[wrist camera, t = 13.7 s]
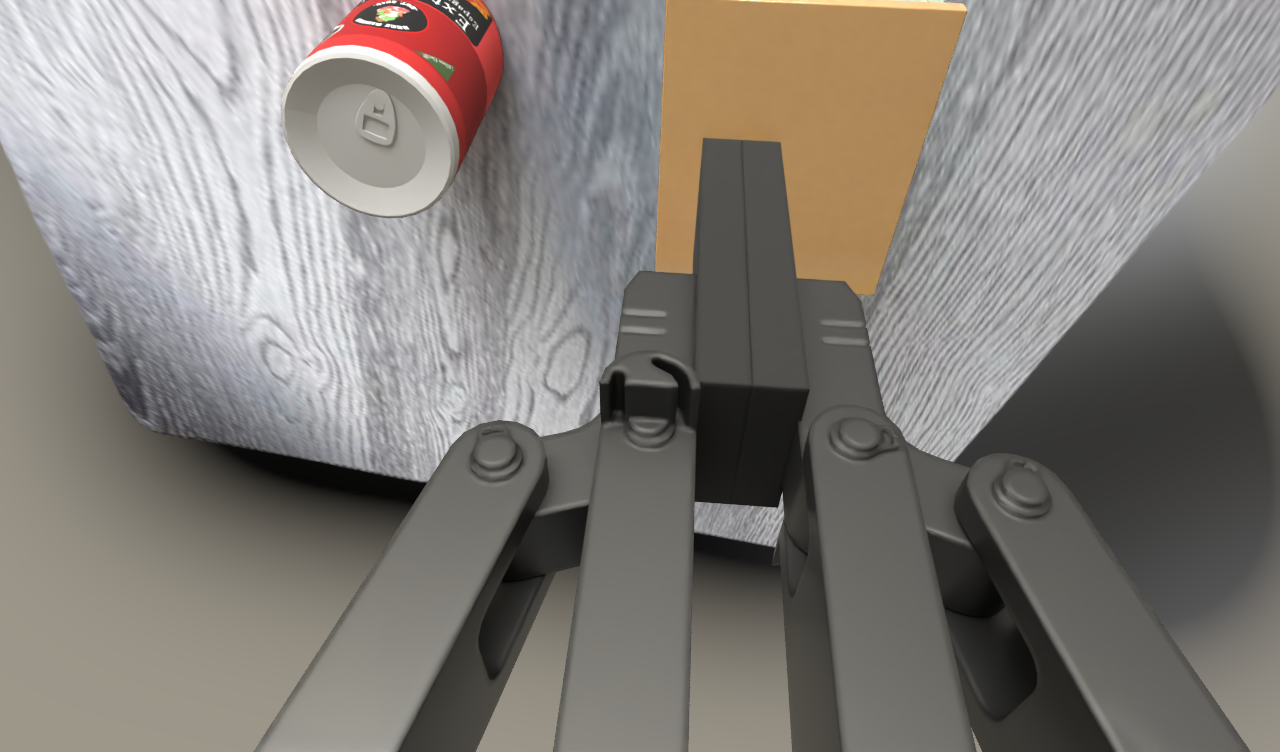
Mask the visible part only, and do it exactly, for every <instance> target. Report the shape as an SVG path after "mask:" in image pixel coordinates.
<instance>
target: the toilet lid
mask: <svg viewBox="0 0 1280 752" xmlns="http://www.w3.org/2000/svg"><path fill="white" fill-rule="evenodd" d="M966 14H967V8H966V7H965V5H964V4H962V3H940V2H917V1H895V0H666V7H665V32H664V58H663V83H662V109H661V134H660V160H659V185H658V211H657V236H656V262H655V272H669V273H685V274H692V273H693V251H694V239H695V227H696V215H697V203H698V192H699V180H700V168H701V156H702V144H703V138H715V139H734V140H753V141H772V142H781V150H782V158H783V167H784V175H785V183H786V192H787V200H788V209H789V217H790V226H791V234H792V242H793V251H794V259H795V268H796V276H797V278H801V279H817V280H834V281H845V282H846V283H847V284H848V286H849V287H850V288H851V289H852V291H853V292H854V293H855V294H857V295H874V294H875V291H876V288H877V285H878V281H879V278H880V275H881V272H882V269H883V266H884V263H885V260H886V257H887V254H888V251H889V248H890V245H891V242H892V239H893V236H894V233H895V230H896V227H897V224H898V221H899V218H900V215H901V212H902V209H903V206H904V202H905V199H906V196H907V193H908V190H909V187H910V184H911V181H912V178H913V175H914V172H915V169H916V166H917V163H918V160H919V157H920V154H921V151H922V148H923V145H924V142H925V139H926V136H927V133H928V130H929V127H930V124H931V120H932V117H933V114H934V111H935V108H936V105H937V102H938V99H939V96H940V93H941V90H942V87H943V84H944V81H945V78H946V75H947V72H948V69H949V66H950V63H951V60H952V57H953V54H954V51H955V48H956V45H957V41H958V38H959V35H960V32H961V29H962V26H963V23H964V20H965V17H966Z"/></svg>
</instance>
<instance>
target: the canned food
mask: <svg viewBox="0 0 1280 752" xmlns="http://www.w3.org/2000/svg"><path fill="white" fill-rule="evenodd" d="M502 70H503V51H502V45H501V40H500V34H499V31H498V28H497V26H496V23H495V20H494V18H493V17H492V15H491V13H490V11H489V10H488V8H487V6H486V5H485V4H484V2H483V1H482V0H362V1H361V2H360V3H359V4H358V5H357V6H356V7H355V8H354V9H353V10H352V11H351V12H350V13H349V14H348V15H347V16H346V17H345V18H344V19H343V20H342V22H341V23H340V24H339V25H338V26H337V27H336V28H335V29H334V30H333V31H332V32H331V33H330V34H329V35H328V36H327V37H326V38H325V39H324V40H323V41H322V42H321V43H320V44H319V45H318V46H317V47H316V48H315V49H314V50H313V51H312V52H311V53H310V54H309V56H308V57H307V58H306V59H305V60H304V61H303V62H302V64H301V65H300V66H299V67H298V68H297V69H296V70H295V72H294V74H293V76H292V77H291V78H290V80H289V82H288V84H287V86H286V88H285V90H284V95H283V100H282V104H281V120H282V126H283V130H284V135H285V139H286V141H287V143H288V146H289V148H290V150H291V153H292V155H293V156H294V158H295V160H296V161H297V163H298V164H299V166H300V167H301V169H302V170H303V171H304V173H305V174H306V175H307V176H308V177H309V178H310V180H311V181H312V182H313V183H314V184H315V185H316V186H318V187H319V188H320V189H321V190H322V191H323V192H324V193H326V194H327V195H328V196H330V197H331V198H333V199H334V200H336V201H337V202H339V203H340V204H342V205H344V206H346V207H349V208H351V209H353V210H355V211H357V212H360V213H364V214H367V215H370V216H375V217H382V218H403V217H408V216H412V215H416V214H418V213H421V212H423V211H425V210H427V209H429V208H430V207H431V206H433V205H434V204H435V203H436V202H438V201H439V200H440V198H441V197H442V196H443V194H444V193H445V192H446V191H447V189H448V188H449V187H450V185H451V184H452V182H453V180H454V178H455V176H456V174H457V173H458V171H459V168H460V166H461V164H462V162H463V160H464V158H465V156H466V154H467V152H468V149H469V147H470V145H471V143H472V141H473V139H474V137H475V135H476V133H477V130H478V128H479V126H480V124H481V122H482V120H483V118H484V116H485V114H486V111H487V109H488V107H489V105H490V103H491V101H492V99H493V97H494V95H495V92H496V90H497V88H498V85H499V83H500V80H501V75H502Z"/></svg>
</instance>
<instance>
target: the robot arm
mask: <svg viewBox="0 0 1280 752" xmlns="http://www.w3.org/2000/svg"><path fill="white" fill-rule="evenodd" d="M869 343H870V340H869V336H868V331H867V328H866V321H865V317H864V312H863V307H862V302H861V300H860V299H859V298H858V297H857V296H856V294H855V293H854V292H853V291H852V289H851V288H850V287H849V286H848V284H847V283H846V282H845V281H834V280H817V279H801V278H797V276H796V268H795V259H794V251H793V242H792V234H791V226H790V217H789V209H788V200H787V192H786V183H785V175H784V167H783V158H782V150H781V142H772V141H753V140H734V139H715V138H703V144H702V156H701V168H700V180H699V192H698V203H697V215H696V227H695V239H694V251H693V273H692V274H685V273H669V272H652V271H639V272H638V273H637V274H636V276H635V277H634V278H633V279H632V280H631V282H630V283H629V284H628V285H627V287H626V288H625V290H624V297H623V304H622V313H621V318H620V325H619V332H618V339H617V346H616V353H615V360H614V361H613V362H612V363H611V364H610V365H609V366H608V367H606V368H605V370H604V373H603V375H602V377H601V380H600V382H599V384H600V414H599V415H597V416H596V417H595V418H594V419H593V420H592V421H590V422H589V423H587V424H585V425H583V426H581V427H579V428H577V429H574V430H570V431H567V432H563V433H558V434H553V435H548V436H543V437H539V436H538V435H537V434H536V433H535V431H534V430H533V429H531V428H529V427H527V426H525V425H522V424H520V423H518V422H511V421H501V420H498V421H493V422H488V423H483V424H479V425H477V426H476V427H474V428H472V429H470V430H468V431H466V432H464V433H463V434H462V435H461V436H460V437H459V438H458V439H457V440H456V441H455V442H454V444H453V445H452V446H451V447H450V449H449V450H448V452H447V453H446V455H445V456H444V458H443V460H442V461H441V463H440V464H439V466H438V467H437V469H436V470H435V472H434V473H433V475H432V477H431V478H430V480H429V481H428V483H427V484H426V486H425V487H424V489H423V490H422V492H421V494H420V495H419V497H418V498H417V500H416V501H415V503H414V504H413V506H412V508H411V509H410V511H409V512H408V514H407V515H406V517H405V518H404V520H403V521H402V523H401V525H400V526H399V528H398V529H397V531H396V532H395V534H394V535H393V537H392V538H391V540H390V541H389V543H388V545H387V546H386V548H385V549H384V551H383V552H382V554H381V556H380V557H379V559H378V560H377V562H376V563H375V565H374V567H373V568H372V569H371V571H370V572H369V574H368V576H367V577H366V579H365V580H364V582H363V583H362V585H361V586H360V588H359V589H358V591H357V592H356V594H355V596H354V597H353V599H352V600H351V602H350V603H349V605H348V606H347V608H346V610H345V611H344V613H343V614H342V616H341V617H340V619H339V620H338V622H337V623H336V625H335V627H334V628H333V630H332V631H331V633H330V634H329V636H328V637H327V639H326V640H325V642H324V644H323V645H322V647H321V648H320V650H319V651H318V653H317V654H316V656H315V658H314V659H313V661H312V662H311V664H310V665H309V667H308V668H307V670H306V671H305V673H304V675H303V676H302V678H301V679H300V681H299V682H298V684H297V685H296V687H295V688H294V690H293V691H292V693H291V695H290V696H289V698H288V699H287V701H286V703H285V704H284V705H283V707H282V708H281V710H280V712H279V713H278V715H277V716H276V718H275V720H274V721H273V722H272V724H271V725H270V727H269V729H268V730H267V732H266V733H265V735H264V737H263V738H262V739H261V741H260V743H259V744H258V746H257V747H256V749H255V750H254V752H476V750H477V747H478V745H479V743H480V741H481V739H482V736H483V734H484V732H485V730H486V727H487V725H488V723H489V721H490V718H491V716H492V714H493V712H494V710H495V707H496V705H497V703H498V701H499V698H500V696H501V694H502V692H503V690H504V687H505V685H506V683H507V680H508V678H509V676H510V674H511V672H512V669H513V667H514V665H515V663H516V661H517V658H518V656H519V654H520V652H521V649H522V647H523V645H524V642H525V640H526V638H527V635H528V634H529V631H530V629H531V627H532V625H533V623H534V620H535V618H536V616H537V614H538V611H539V609H540V607H541V604H542V602H543V600H544V598H545V596H546V594H547V591H548V589H549V587H550V584H551V582H552V580H553V578H554V576H555V573H556V571H560V570H565V569H569V568H573V567H577V566H580V570H579V577H578V583H577V590H576V598H575V604H574V612H573V618H572V625H571V632H570V638H569V646H568V652H567V659H566V666H565V673H564V679H563V687H562V693H561V700H560V707H559V714H558V721H557V727H556V734H555V741H554V748H553V752H688V740H689V701H690V661H691V660H690V659H691V622H692V583H693V581H692V579H693V541H694V504H695V502H708V503H722V504H735V505H749V506H763V507H776V508H778V506H779V502H780V498H781V494H782V491H783V504H784V519H783V523H782V526H781V530H780V533H779V537H778V540H777V544H776V547H775V551H774V555H773V561H772V565H773V566H779V564H780V562H781V578H782V594H783V610H784V626H785V642H786V658H787V674H788V690H789V707H790V723H791V738H792V752H976V748H975V743H974V738H973V734H972V730H973V732H974V734H975V736H976V739H977V741H978V743H979V745H980V747H981V750H982V752H1250V750H1249V749H1248V747H1247V746H1246V744H1245V743H1244V742H1243V740H1242V739H1241V737H1240V736H1239V734H1238V733H1237V731H1236V730H1235V729H1234V727H1233V725H1232V724H1231V723H1230V721H1229V720H1228V718H1227V717H1226V715H1225V714H1224V712H1223V711H1222V710H1221V708H1220V707H1219V705H1218V704H1217V702H1216V701H1215V700H1214V698H1213V697H1212V695H1211V694H1210V692H1209V691H1208V689H1207V688H1206V686H1205V685H1204V684H1203V682H1202V681H1201V679H1200V678H1199V676H1198V675H1197V674H1196V672H1195V671H1194V669H1193V668H1192V666H1191V665H1190V663H1189V662H1188V660H1187V659H1186V657H1185V656H1184V655H1183V653H1182V652H1181V650H1180V649H1179V647H1178V646H1177V645H1176V643H1175V642H1174V640H1173V639H1172V637H1171V636H1170V634H1169V633H1168V631H1167V630H1166V629H1165V627H1164V626H1163V624H1162V623H1161V621H1160V620H1159V618H1158V617H1157V616H1156V614H1155V613H1154V611H1153V610H1152V608H1151V607H1150V605H1149V604H1148V603H1147V601H1146V600H1145V598H1144V597H1143V595H1142V594H1141V592H1140V591H1139V589H1138V588H1137V587H1136V585H1135V584H1134V582H1133V581H1132V579H1131V578H1130V576H1129V575H1128V574H1127V572H1126V571H1125V569H1124V568H1123V566H1122V565H1121V564H1120V562H1119V560H1118V559H1117V558H1116V556H1115V555H1114V554H1113V552H1112V550H1111V549H1110V547H1109V546H1108V545H1107V543H1106V542H1105V540H1104V539H1103V538H1102V536H1101V535H1100V533H1099V532H1098V530H1097V529H1096V527H1095V526H1094V524H1093V523H1092V521H1091V520H1090V519H1089V517H1088V516H1087V514H1086V513H1085V512H1084V510H1083V508H1082V507H1081V505H1080V504H1079V503H1078V501H1077V500H1076V498H1075V497H1074V495H1073V494H1072V492H1071V491H1070V490H1069V488H1068V487H1067V486H1066V485H1065V484H1064V483H1063V482H1062V481H1061V480H1060V478H1059V477H1058V476H1057V475H1056V474H1055V473H1054V472H1053V471H1051V470H1049V469H1048V468H1046V467H1045V466H1043V465H1041V464H1040V463H1038V462H1036V461H1035V460H1032V459H1029V458H1026V457H1022V456H1019V455H1016V454H1002V453H995V454H991V455H988V456H985V457H982V458H980V459H979V460H978V461H977V462H976V463H975V464H974V465H973V466H972V467H971V468H969V467H966V466H963V465H960V464H956V463H953V462H950V461H947V460H944V459H941V458H938V457H935V456H933V455H930V454H928V453H926V452H923V451H921V450H919V449H917V448H916V447H914V446H913V445H911V444H909V443H908V442H906V441H905V439H904V437H903V434H902V432H901V430H900V429H899V428H898V427H897V426H896V425H895V424H894V423H893V422H892V421H891V420H890V419H889V418H888V417H887V416H886V414H885V411H884V407H883V402H882V397H881V393H880V388H879V383H878V378H877V374H876V369H875V364H874V359H873V355H872V350H871V346H869ZM971 728H972V730H971Z"/></svg>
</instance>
